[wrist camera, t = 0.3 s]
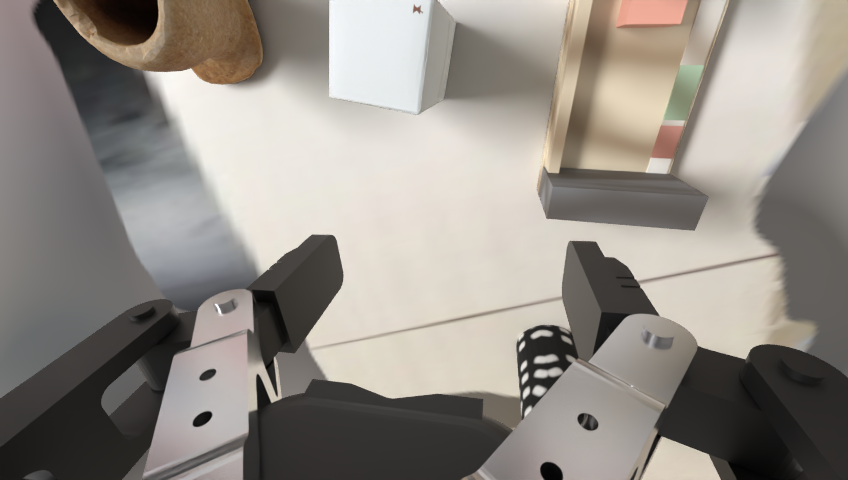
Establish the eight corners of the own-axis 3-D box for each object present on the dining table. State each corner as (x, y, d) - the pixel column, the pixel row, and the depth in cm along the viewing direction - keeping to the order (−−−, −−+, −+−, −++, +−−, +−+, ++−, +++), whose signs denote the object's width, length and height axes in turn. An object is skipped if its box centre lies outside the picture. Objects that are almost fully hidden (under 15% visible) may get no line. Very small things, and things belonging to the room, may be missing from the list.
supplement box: (384, 8, 33) (327, -24, 22) (458, 20, 32) (438, -7, 21) (377, 90, 36) (325, 98, 25) (444, 102, 36) (420, 116, 24)
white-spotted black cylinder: (556, 377, 49) (589, 546, 32) (505, 353, 49) (510, 510, 32) (591, 341, 45) (651, 511, 28) (536, 315, 45) (562, 470, 28)
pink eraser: (623, -7, 28) (634, -13, 26) (676, -8, 27) (692, -15, 25) (615, 27, 29) (625, 24, 27) (666, 27, 28) (680, 23, 26)
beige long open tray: (597, -169, 25) (640, -271, 18) (783, -188, 23) (920, -312, 16) (536, 189, 38) (546, 218, 30) (653, 197, 36) (694, 230, 28)
